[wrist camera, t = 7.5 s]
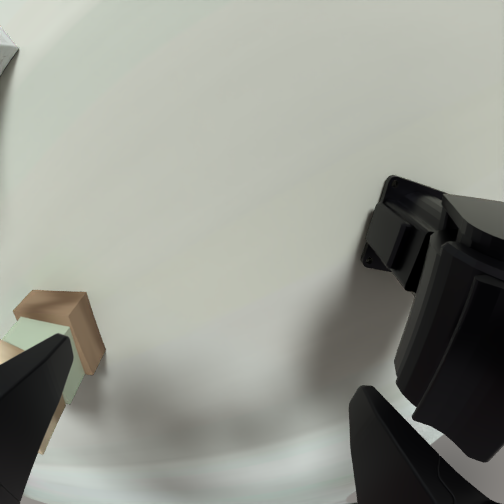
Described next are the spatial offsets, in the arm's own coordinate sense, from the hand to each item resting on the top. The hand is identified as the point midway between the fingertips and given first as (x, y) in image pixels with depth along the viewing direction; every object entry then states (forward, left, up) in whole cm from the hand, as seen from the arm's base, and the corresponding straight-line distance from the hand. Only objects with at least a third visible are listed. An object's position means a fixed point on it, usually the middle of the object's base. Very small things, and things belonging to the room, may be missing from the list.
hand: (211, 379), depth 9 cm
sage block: (+13, +12, -10) cm, 20 cm away
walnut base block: (+13, +11, -13) cm, 22 cm away
